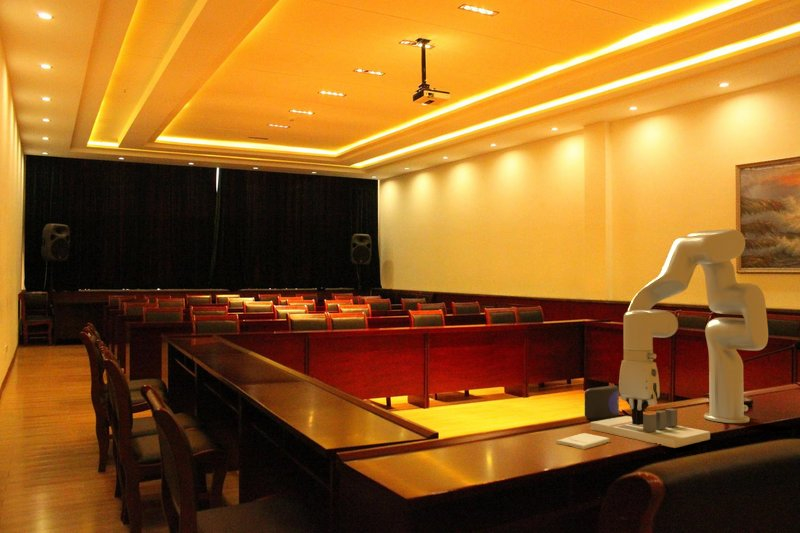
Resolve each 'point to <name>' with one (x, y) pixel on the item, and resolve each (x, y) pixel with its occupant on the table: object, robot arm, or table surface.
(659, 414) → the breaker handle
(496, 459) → the table surface
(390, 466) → the table surface
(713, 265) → the robot arm
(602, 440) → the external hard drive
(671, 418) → the breaker handle
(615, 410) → the dark olive rounded block
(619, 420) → the white flat board
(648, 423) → the handle
